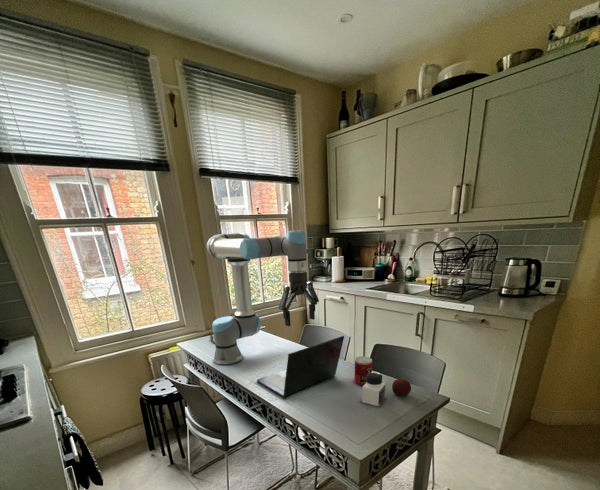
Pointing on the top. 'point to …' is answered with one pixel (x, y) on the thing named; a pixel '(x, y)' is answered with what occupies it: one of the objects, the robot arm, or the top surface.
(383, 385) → the medicine bottle
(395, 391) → the red apple
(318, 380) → the laptop screen
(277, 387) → the laptop
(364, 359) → the canned food
